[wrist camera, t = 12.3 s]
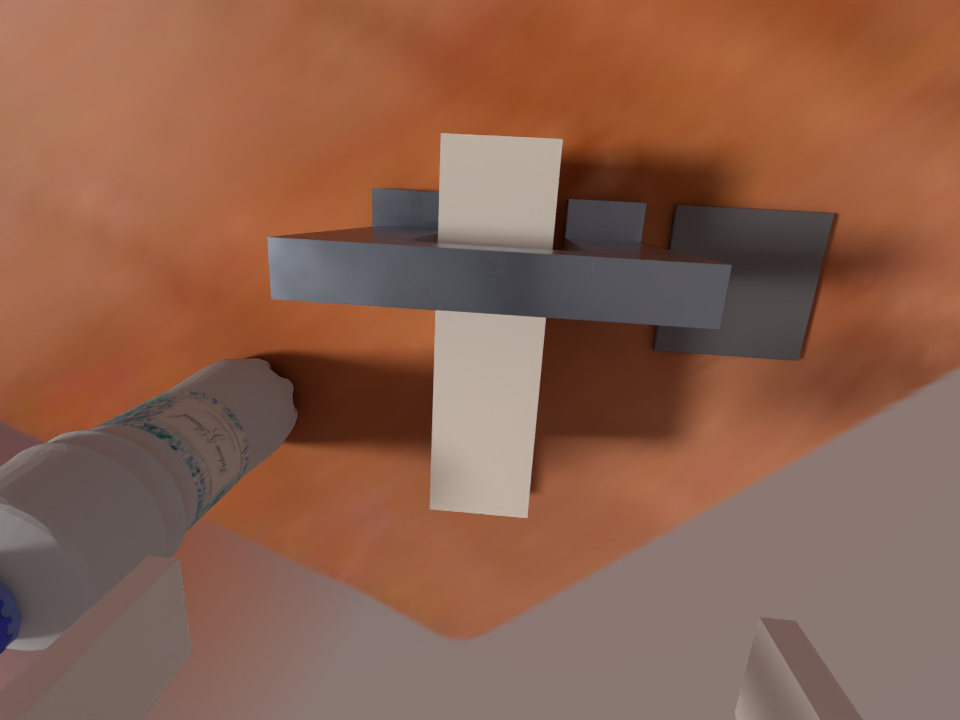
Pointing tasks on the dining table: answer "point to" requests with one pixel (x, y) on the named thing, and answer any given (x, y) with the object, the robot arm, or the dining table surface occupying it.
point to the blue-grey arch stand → (502, 268)
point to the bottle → (127, 492)
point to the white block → (490, 326)
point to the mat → (752, 278)
